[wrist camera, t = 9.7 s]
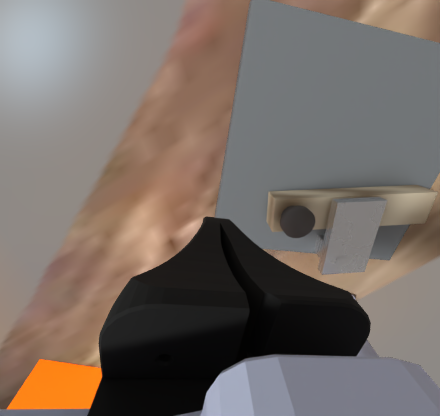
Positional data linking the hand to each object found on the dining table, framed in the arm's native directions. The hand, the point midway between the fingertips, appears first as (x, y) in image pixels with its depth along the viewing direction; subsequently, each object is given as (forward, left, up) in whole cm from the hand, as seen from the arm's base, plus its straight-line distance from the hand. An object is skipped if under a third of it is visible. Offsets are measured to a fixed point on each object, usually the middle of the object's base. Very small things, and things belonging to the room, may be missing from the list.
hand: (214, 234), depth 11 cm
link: (0, -12, -8) cm, 15 cm away
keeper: (-2, -12, -8) cm, 15 cm away
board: (+4, -11, -9) cm, 15 cm away
